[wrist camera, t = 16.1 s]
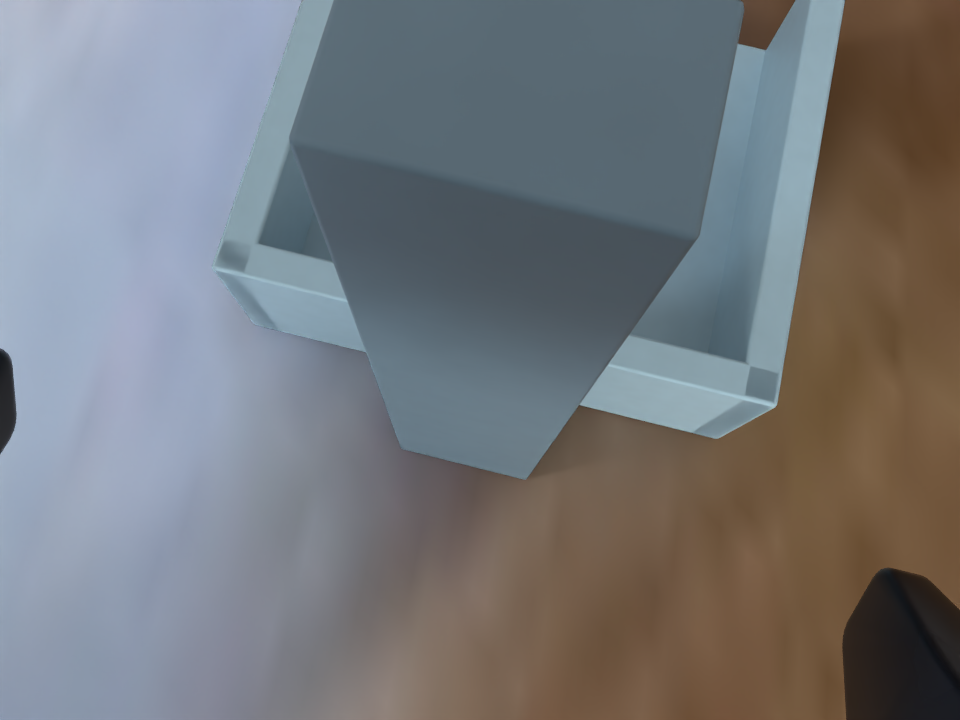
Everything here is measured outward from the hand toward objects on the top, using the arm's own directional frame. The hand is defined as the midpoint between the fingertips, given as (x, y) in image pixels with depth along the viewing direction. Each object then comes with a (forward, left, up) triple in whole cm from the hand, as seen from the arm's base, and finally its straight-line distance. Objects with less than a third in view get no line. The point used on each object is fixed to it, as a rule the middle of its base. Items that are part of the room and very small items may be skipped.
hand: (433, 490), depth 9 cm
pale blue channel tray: (+5, +5, -7) cm, 10 cm away
